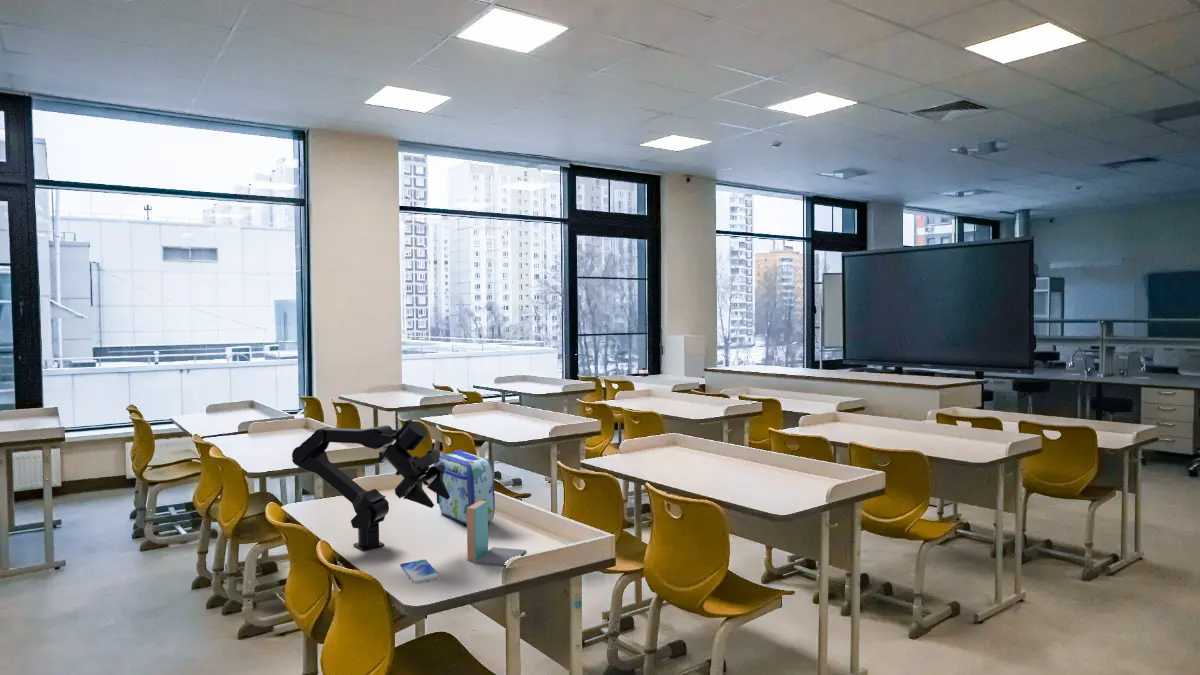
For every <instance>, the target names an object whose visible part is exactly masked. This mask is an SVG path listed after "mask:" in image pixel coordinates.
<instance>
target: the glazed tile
mask: <svg viewBox="0 0 1200 675" xmlns="http://www.w3.org/2000/svg"><path fill="white" fill-rule="evenodd" d="M466 537H467V538H466V542H467V545H466V550H467V552H466V553H467V554H466V556H467V561H474V562H475V561H476V560H477V559H478V558H480V557H481V556H482V555H483V554H485V553H486V552H487V551H488V550H489V521H488V501H478V502H476V503H474V504H473V505H471V506H470V507H468V508H467V524H466Z"/></svg>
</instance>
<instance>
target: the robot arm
mask: <svg viewBox="0 0 1200 675" xmlns="http://www.w3.org/2000/svg"><path fill="white" fill-rule="evenodd" d="M427 435H428V432H427V429H426V428H425V427H424V426H423V425H421V424H419V423H417V422H415V421H413V420H412V419H408V420H406V421H405V422H404V423H403V425H402V426H401V427H400V429H399V430H398V429H393V428H392V427H391V426H390V425H380V426H374V427H368V428H349V427H348V428H346V427H345V428H343V427H330V426H326V427H320V428H317V429H316V430H315V431H314V432H313V433H312V435H311V436H309V437H308V438H307V439H305V440H304V441H303V442H301V444H299V445H298V446H297V447H295V448H294V449H293V450H292V452H291V458H292V459H291V460H292V463H293V464H294V465H295V466H296V467H298V468H300V469H302V470H303V471H306V472H310V473H314V474H317V475H318V476H319V477H320V478H321V479H322V480H323V481H324V482H326V483H327V484H328V485H329V486H331V487H332V488H333V489H334V490H335V491H337V492H338V493H339V494H340V495H342V496H343V497H344V498H346V499H347V501H348V502H350V503H351V504H352V507H353V510H354V513H355V515H354V517H353V518H352V519H351V520H350V523H351V524H350V525H351V527H352V529H357V536H358V537H357V538H358V539H357V542H355V543H353V544H352V545H353V546H354V547H355V548H357V549H359V550H361V551H368V550H372V549H374V548H375V549H376V548H381V547H383V546H385V543H384V542H382V541H380V523H381V522H384V521H385V517H386V516H387V515H388V513H389V511H390V506H389V503H390V502H389V501H388V500H387V499H386V495H383V494H382V493H381V492H380V491H379V489H378V490H377V489H376V488H372V489H371V490H365V489H364V488H363V487H362V486H360V485H359V484H358V483H357V482H355V481H354V480H353V479H352V478H351V477H349V476H348V475H347V474H346V473H345V472H343V471H342V470H341V469H340V468H338V467H337V466H336V465H334V464H333V463H332V462H331V461H330V459H329V456H328V454H327V451H326V450H327V449H328V447H329V445H330V443H338V444H339V443H341V444H342V443H343V444H358V445H361V446H363V447H364V448H368V449H373V450H378V449H381V448H385V447H386V448H385V449H384V450H382V451H379V452H378V463H381V462H384V461H387V462H388V463H390V465H392V467H393V468H394V469H395V470H396V472H395V475H396V476H397V477H399V476H402V477H403V479H402V480H401V481H400V482H399V483H398V485H396V487H395V488H394V494H395V496H396V497H398V499H402V498H403V500H409V501H410V502H411V501H412V502H414V503H418V504H420V505H423V506H425V507H427V508H430V509H433V507H435V504H434V503H433V501H432V499H431V498H430V497H429V495H428V494H427V493H426V492H425V490H424V489H423V484H424V485H426V486H427V487H426V488H427V489H429V490H430V491H432V492H434V493H437V494H438V495H440V496H441V497H443V498H445V499H447V500H448V499H449V498H450V495H449V493H448V491H447V489H446V487H445V484H444V482H443V475H444V470H445V468H444V467H443V466H442V465H441V464H438V462H440V459H439V458H440V456H441V453H440V452H438V450H436V449H435V448H432V449H429V450H428V451H427V452H426V454H424V455H423V456H421V457H420V456H418V455H414V456H413V455H412V453H411V452H410V451H415V450H416V449H417V447H418V446H419V445H420V444H421V443H422V442H423V441H424V439H425V438H426V437H427ZM436 463H437V464H436ZM437 494H436V495H437Z"/></svg>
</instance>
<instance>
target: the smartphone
mask: <svg viewBox="0 0 1200 675" xmlns="http://www.w3.org/2000/svg"><path fill="white" fill-rule="evenodd" d="M400 567H401V568H402V569H403V570H402V569H401V568H400ZM399 568H400V569H401V570H402V571H404V572H405V573H406V574H407V576H408V577H409V578H410V579H411V581H412V582H413V583H416V584H419V583H418V582H422V583H425V582H431V581H437V580H440V579H442V576H441V575H440V573H439V572H438V571H437V570H436V569H435V568H434V567H433V565H432V564H430V563H429V562H428V560H427V559H419V560H414V561H408V562H405V563H404V562H403V563H400V564H399ZM404 572H403V573H404ZM405 573H404V574H405ZM406 574H405V575H406ZM407 576H406V577H407ZM408 577H407V578H408ZM409 578H408V579H409ZM411 581H410V582H411ZM412 582H411V583H412ZM413 583H412V584H413Z"/></svg>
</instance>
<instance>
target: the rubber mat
mask: <svg viewBox="0 0 1200 675" xmlns="http://www.w3.org/2000/svg"><path fill="white" fill-rule="evenodd" d="M526 553H527V549H520V548H507V547H495V546H492V547H491V548H489V549H488V551H487V552H486V553H485V554H483V555H482V556H481V557H480V558H478V559H477V560H476V561H474V564H477V565H479V564H480V565H487V564H493V565H492V566H501V567H502V566H503V565H504V564H505V562H506V561H507V560H509V559H510V558H512V557H515V556H519V555H522V554H523V555H524V554H526ZM523 555H522V556H523ZM503 567H504V566H503Z"/></svg>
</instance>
